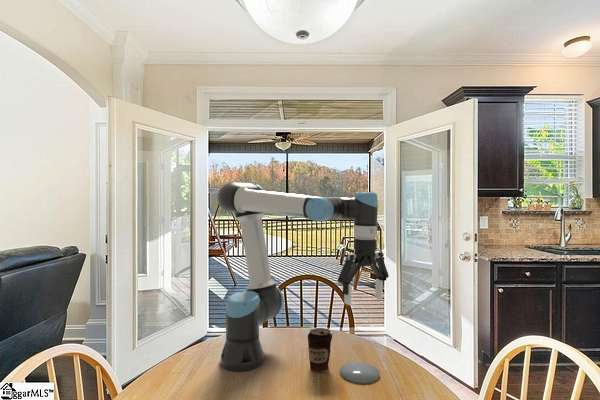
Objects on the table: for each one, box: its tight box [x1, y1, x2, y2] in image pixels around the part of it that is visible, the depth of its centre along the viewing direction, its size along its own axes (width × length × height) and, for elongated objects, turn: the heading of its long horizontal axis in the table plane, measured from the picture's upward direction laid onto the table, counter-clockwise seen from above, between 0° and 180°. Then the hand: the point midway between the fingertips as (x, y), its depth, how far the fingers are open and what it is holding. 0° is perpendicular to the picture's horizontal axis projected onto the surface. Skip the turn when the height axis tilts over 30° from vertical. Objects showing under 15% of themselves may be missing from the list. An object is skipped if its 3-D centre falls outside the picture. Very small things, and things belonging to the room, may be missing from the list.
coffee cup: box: [307, 327, 333, 374], centre depth 118 cm, size 9×8×13 cm
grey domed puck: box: [339, 361, 380, 385], centre depth 116 cm, size 13×13×1 cm
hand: (363, 301), depth 117 cm, fingers open, 13 cm apart
